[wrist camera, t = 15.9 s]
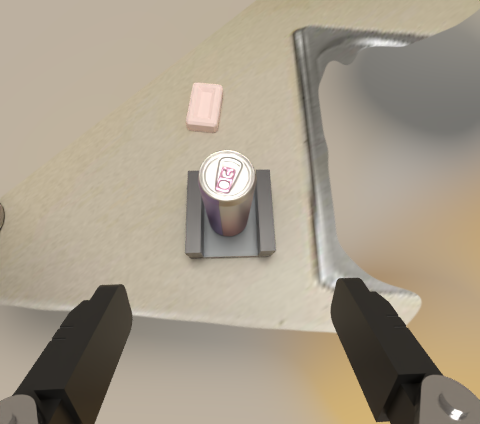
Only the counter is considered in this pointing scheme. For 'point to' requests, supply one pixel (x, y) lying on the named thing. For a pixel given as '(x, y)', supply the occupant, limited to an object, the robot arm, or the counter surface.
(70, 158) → the counter surface
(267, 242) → the duct channel
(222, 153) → the beverage can
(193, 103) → the soap bar
